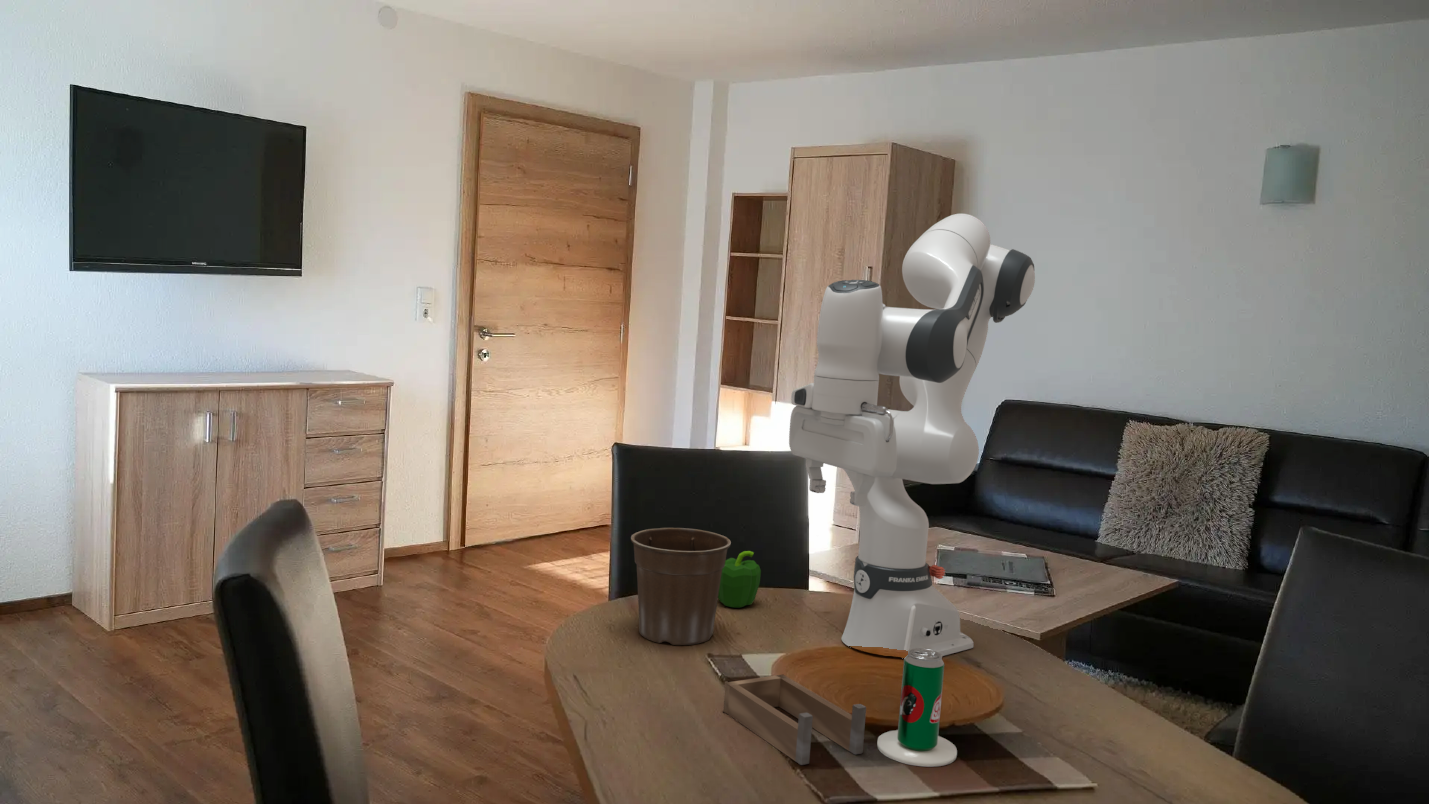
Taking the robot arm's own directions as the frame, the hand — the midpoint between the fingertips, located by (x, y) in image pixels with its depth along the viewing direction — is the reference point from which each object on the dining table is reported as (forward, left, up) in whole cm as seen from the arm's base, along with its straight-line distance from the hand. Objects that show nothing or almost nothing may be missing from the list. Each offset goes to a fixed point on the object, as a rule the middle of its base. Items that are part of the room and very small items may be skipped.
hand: (837, 498), depth 153 cm
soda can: (-2, +18, -29) cm, 34 cm away
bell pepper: (-14, -46, -29) cm, 56 cm away
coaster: (-2, +18, -29) cm, 34 cm away
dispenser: (+10, +6, -29) cm, 31 cm away
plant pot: (+5, -34, -29) cm, 45 cm away
